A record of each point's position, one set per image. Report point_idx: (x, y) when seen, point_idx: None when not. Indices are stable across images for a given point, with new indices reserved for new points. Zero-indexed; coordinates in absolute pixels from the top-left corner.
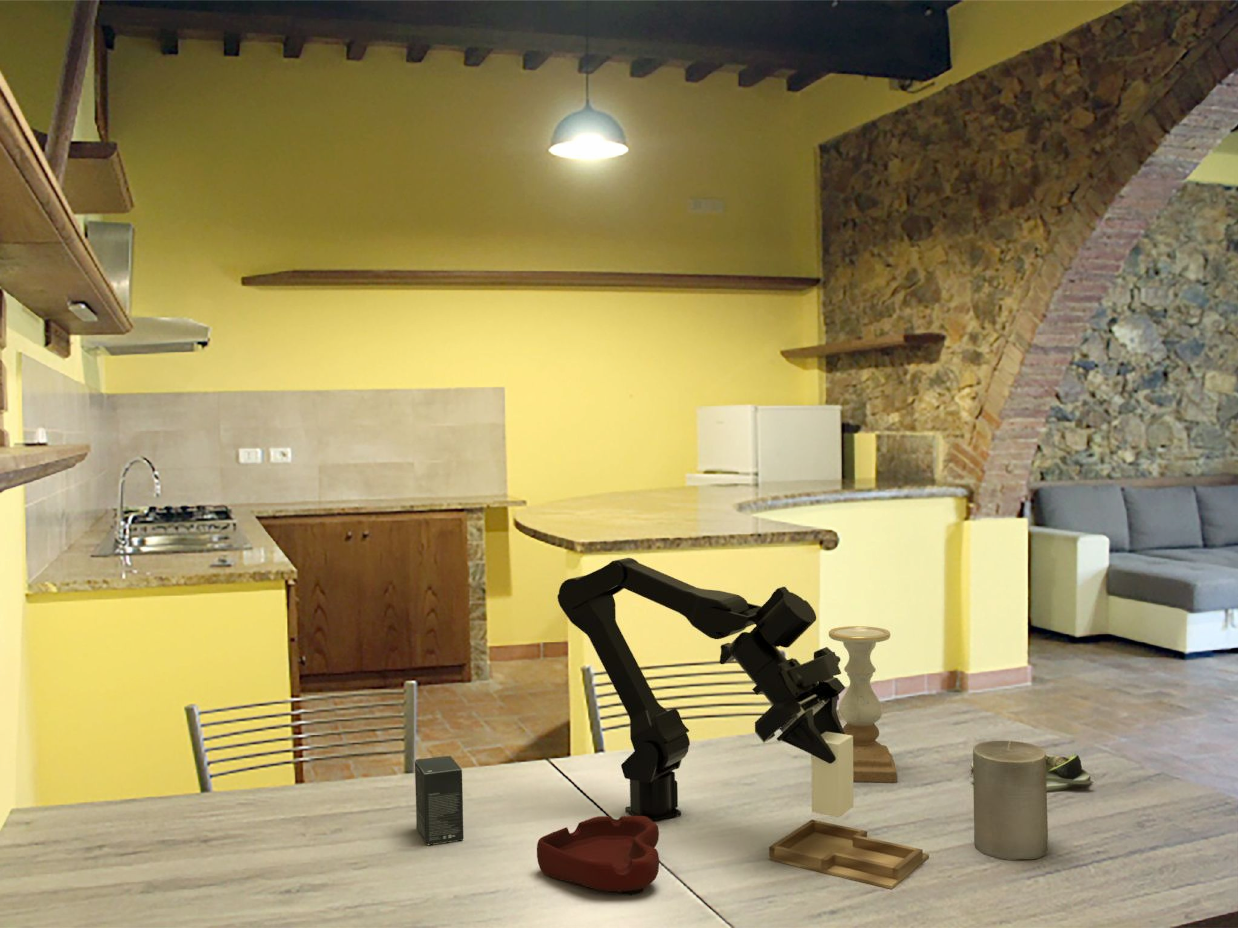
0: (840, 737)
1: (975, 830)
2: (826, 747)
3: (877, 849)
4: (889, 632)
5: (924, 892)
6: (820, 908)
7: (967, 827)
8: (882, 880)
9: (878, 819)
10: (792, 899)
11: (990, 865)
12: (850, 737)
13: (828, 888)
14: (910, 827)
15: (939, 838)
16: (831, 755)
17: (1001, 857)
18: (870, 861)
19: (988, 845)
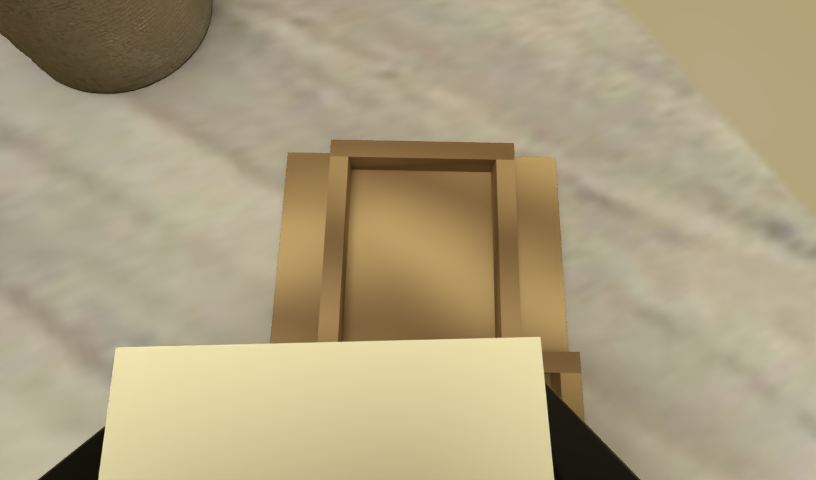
0: (260, 444)
1: (137, 48)
2: (612, 456)
3: (344, 280)
4: None
5: (521, 90)
6: (782, 265)
7: (5, 144)
8: (535, 190)
9: (29, 409)
10: (789, 357)
11: (268, 19)
12: (193, 346)
13: (656, 303)
14: (68, 286)
15: (130, 180)
16: (560, 400)
17: (210, 8)
18: (507, 230)
19: (193, 20)
